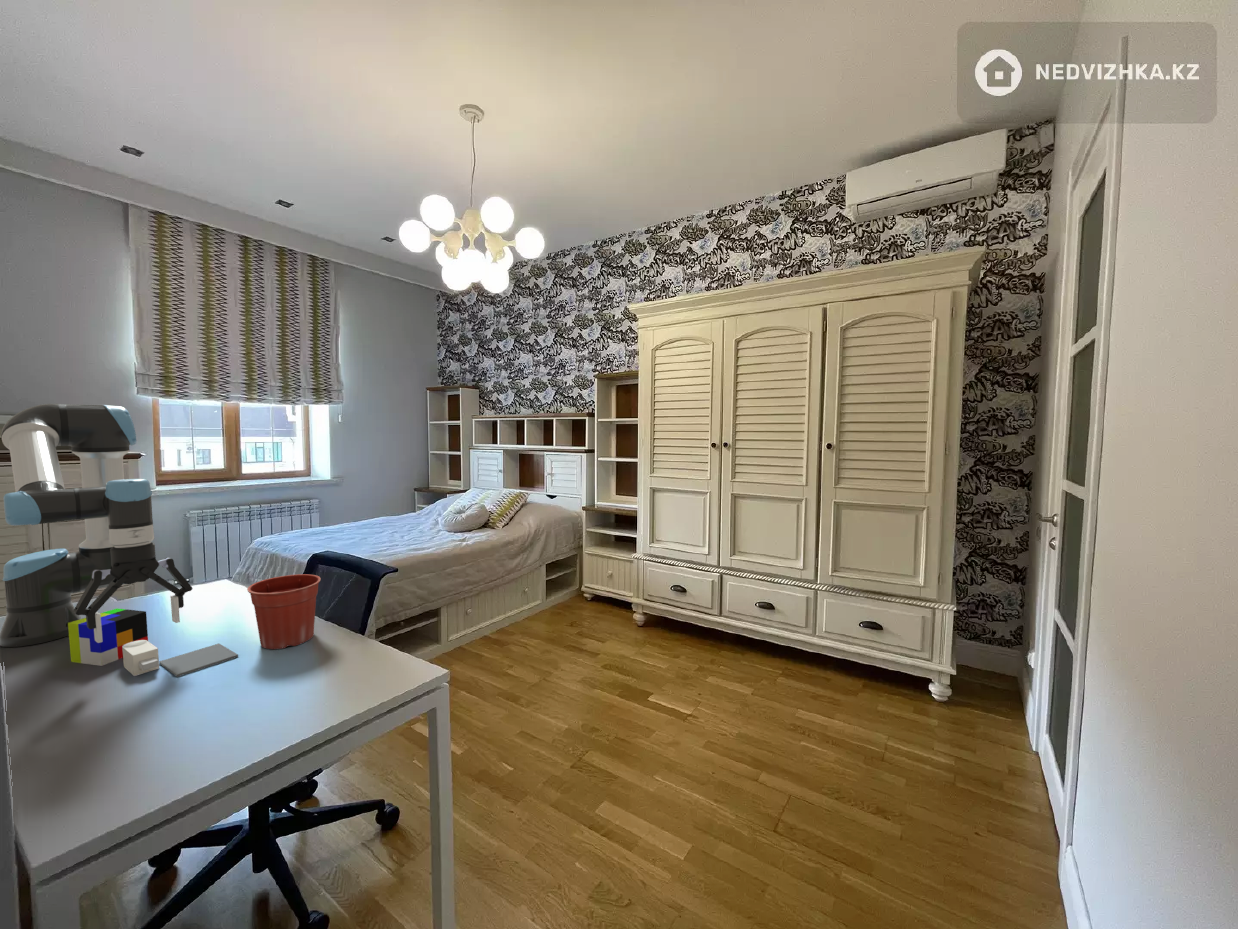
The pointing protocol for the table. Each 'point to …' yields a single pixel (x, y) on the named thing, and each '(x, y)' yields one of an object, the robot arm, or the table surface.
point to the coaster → (198, 659)
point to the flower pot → (285, 609)
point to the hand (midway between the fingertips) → (139, 631)
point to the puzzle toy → (106, 636)
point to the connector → (140, 657)
